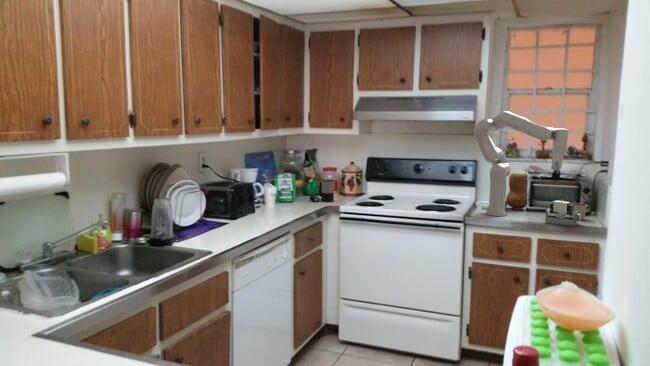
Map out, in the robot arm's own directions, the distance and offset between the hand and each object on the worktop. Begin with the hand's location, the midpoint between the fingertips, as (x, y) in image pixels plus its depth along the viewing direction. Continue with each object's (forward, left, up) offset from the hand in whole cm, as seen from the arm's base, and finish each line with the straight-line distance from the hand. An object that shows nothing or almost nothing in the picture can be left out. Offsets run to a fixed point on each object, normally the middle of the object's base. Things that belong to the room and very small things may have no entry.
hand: (555, 179), depth 297 cm
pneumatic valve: (+5, -3, -23) cm, 24 cm away
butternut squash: (-24, +30, -25) cm, 45 cm away
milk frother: (-146, -15, -25) cm, 149 cm away
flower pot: (+13, +16, -25) cm, 32 cm away
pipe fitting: (+5, -3, -24) cm, 25 cm away
